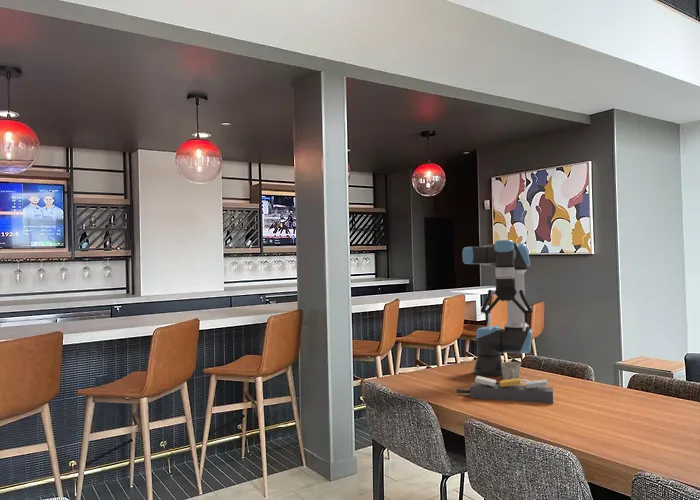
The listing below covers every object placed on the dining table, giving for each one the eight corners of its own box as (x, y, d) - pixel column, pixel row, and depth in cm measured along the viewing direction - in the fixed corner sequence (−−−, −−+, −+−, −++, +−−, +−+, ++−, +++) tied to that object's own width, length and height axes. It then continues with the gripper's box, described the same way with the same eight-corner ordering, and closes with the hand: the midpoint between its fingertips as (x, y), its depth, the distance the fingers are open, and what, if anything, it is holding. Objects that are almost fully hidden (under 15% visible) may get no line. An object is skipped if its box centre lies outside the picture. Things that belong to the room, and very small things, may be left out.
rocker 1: (476, 379, 223) (477, 375, 223) (495, 383, 220) (496, 380, 220) (474, 381, 218) (475, 378, 218) (494, 386, 216) (495, 382, 216)
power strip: (458, 392, 227) (458, 379, 227) (553, 398, 213) (552, 385, 214) (455, 396, 220) (455, 383, 220) (553, 403, 206) (552, 389, 206)
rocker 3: (527, 385, 216) (526, 381, 216) (547, 383, 213) (546, 379, 213) (526, 388, 211) (525, 384, 211) (547, 385, 208) (546, 381, 208)
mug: (518, 383, 240) (518, 361, 241) (525, 390, 228) (524, 367, 228) (500, 383, 241) (499, 361, 241) (505, 390, 229) (504, 367, 229)
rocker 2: (501, 384, 219) (500, 380, 220) (521, 381, 217) (520, 377, 217) (500, 387, 215) (499, 383, 215) (520, 384, 212) (519, 380, 212)
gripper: (472, 278, 217) (474, 330, 217) (536, 277, 207) (538, 332, 206) (476, 278, 224) (478, 328, 224) (538, 277, 213) (540, 329, 213)
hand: (506, 330), depth 215 cm, fingers open, 13 cm apart
